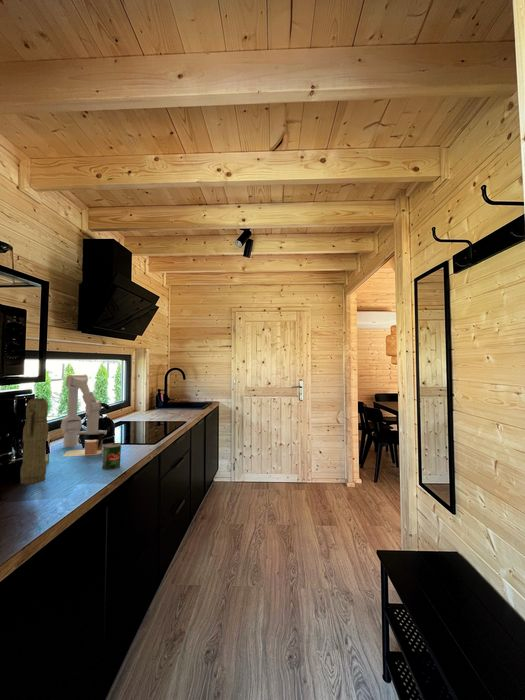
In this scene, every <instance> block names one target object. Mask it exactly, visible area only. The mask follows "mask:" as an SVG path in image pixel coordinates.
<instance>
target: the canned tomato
mask: <svg viewBox="0 0 525 700" xmlns="http://www.w3.org/2000/svg"><path fill="white" fill-rule="evenodd" d="M102 449H103V450H102V470H103V471H114V470H117V469H120V467H121V457H122V455H121V454H122V453H121V451H122V443H120V442H110V443H109V442H108V443H106V444H103V447H102Z"/></svg>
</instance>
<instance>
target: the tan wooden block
mask: <svg viewBox="0 0 525 700" xmlns="http://www.w3.org/2000/svg"><path fill="white" fill-rule="evenodd" d="M98 440H99V439H87V440H85V448H84V450H85V455H84V456H87V455H86V454H96V452H97V444H98Z"/></svg>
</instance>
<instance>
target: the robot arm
mask: <svg viewBox="0 0 525 700" xmlns="http://www.w3.org/2000/svg"><path fill="white" fill-rule="evenodd" d="M65 381H66V383H65V385H66V388H67V389H68V392H67V393H68V395H67V396H68V397H67V398H68V399H67V415H66V416H64V417H63V418H62V419H61V424H60V430H61V431H62V433H63V444H62V446H61V448H76V447H78V446H79V441H80V443H81V446H82V447H81V448H82V450H85V442H86V436H90V435H93V436H95V435H97V436H98V439H97V440H99V441H98V448H100V444H101V441H102V440H103V439H104V437H105V435H107V432H108V431H107V429H106V430H102V429H99V419H100V418H99V416H100V412H101V410H102V403H101V401H100V400H98V399H97V398H96V396H95V395H94V392H93V391H91V390H90V387H89V384H88V381H89V377H88V375H87V374H86V373H84V374H79V373H78V374H75V373H73V374H71V373H69V374H68V375H67V377H66V379H65ZM79 390H80V391H81V393H82V399H83V403H85V416H86V429H85V430H81V429H82V426H83V422H82V417H81V416H79V415H78V403H79V401H78V400H79V399H78V397H79ZM102 442H103V441H102Z"/></svg>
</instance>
